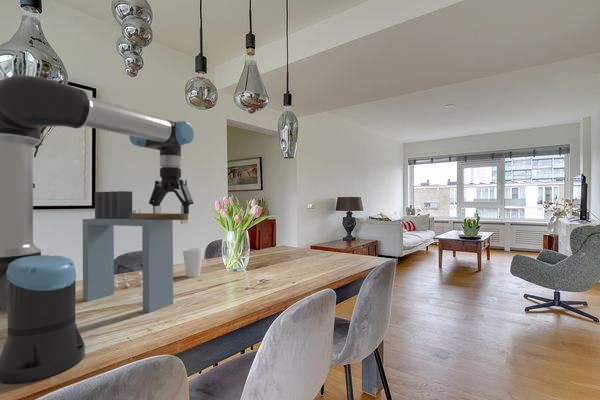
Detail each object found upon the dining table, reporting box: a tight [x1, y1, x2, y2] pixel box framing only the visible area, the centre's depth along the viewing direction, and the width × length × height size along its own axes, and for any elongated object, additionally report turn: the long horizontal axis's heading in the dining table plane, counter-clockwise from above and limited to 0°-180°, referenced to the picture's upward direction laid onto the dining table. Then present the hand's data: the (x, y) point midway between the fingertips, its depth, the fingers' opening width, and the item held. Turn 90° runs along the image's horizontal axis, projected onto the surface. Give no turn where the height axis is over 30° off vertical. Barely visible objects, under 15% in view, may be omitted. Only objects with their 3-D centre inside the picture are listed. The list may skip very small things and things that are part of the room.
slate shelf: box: [82, 217, 174, 313], centre depth 114 cm, size 10×34×30 cm, turn 66°
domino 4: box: [116, 190, 133, 219], centre depth 114 cm, size 5×2×10 cm, turn 156°
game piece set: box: [114, 271, 143, 289], centre depth 142 cm, size 19×20×4 cm
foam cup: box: [182, 247, 204, 278], centre depth 154 cm, size 10×9×13 cm
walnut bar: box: [130, 212, 189, 221], centre depth 108 cm, size 3×24×2 cm, turn 66°
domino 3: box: [108, 190, 117, 219], centre depth 116 cm, size 5×2×10 cm, turn 156°
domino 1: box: [94, 191, 103, 219], centre depth 119 cm, size 5×2×10 cm, turn 156°
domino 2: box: [101, 191, 110, 219], centre depth 118 cm, size 5×2×10 cm, turn 156°
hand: (170, 223), depth 120 cm, fingers open, 13 cm apart
